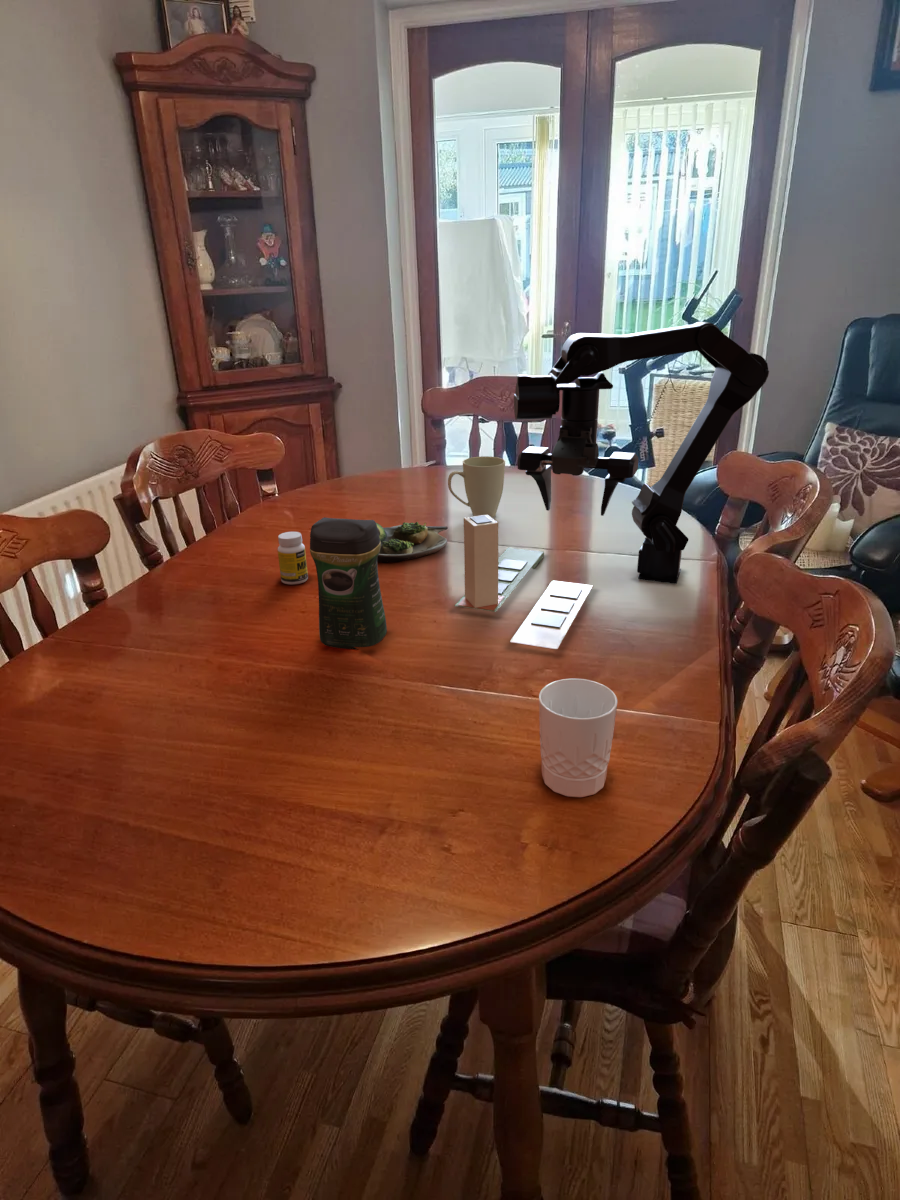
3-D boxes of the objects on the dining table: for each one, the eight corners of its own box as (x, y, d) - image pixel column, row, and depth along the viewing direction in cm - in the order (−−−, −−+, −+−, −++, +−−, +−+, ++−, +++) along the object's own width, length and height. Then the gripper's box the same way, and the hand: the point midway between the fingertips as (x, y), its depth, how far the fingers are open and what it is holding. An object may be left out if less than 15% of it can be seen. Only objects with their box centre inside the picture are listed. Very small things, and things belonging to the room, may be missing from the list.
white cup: (530, 758, 84) (532, 680, 80) (600, 753, 84) (605, 675, 80) (544, 804, 77) (547, 721, 73) (620, 799, 77) (627, 716, 73)
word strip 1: (508, 552, 143) (508, 546, 143) (543, 556, 141) (544, 550, 140) (454, 611, 120) (454, 604, 119) (496, 617, 117) (496, 610, 117)
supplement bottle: (302, 586, 131) (297, 540, 127) (276, 584, 131) (271, 539, 128) (312, 575, 135) (307, 531, 131) (287, 574, 136) (282, 530, 132)
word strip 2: (552, 585, 128) (552, 579, 128) (593, 590, 126) (593, 584, 125) (509, 648, 108) (509, 640, 107) (557, 655, 105) (557, 648, 105)
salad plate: (430, 524, 159) (430, 503, 158) (470, 550, 145) (469, 527, 143) (343, 540, 152) (342, 518, 150) (375, 568, 137) (374, 544, 135)
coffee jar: (393, 630, 114) (386, 513, 106) (375, 655, 107) (366, 531, 99) (333, 625, 116) (322, 509, 109) (312, 648, 109) (299, 526, 102)
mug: (475, 506, 170) (474, 454, 165) (512, 513, 165) (513, 459, 160) (446, 519, 162) (445, 464, 157) (485, 527, 157) (484, 470, 152)
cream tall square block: (487, 593, 123) (487, 513, 117) (498, 604, 119) (498, 521, 114) (464, 597, 122) (463, 516, 116) (474, 608, 118) (473, 525, 112)
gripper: (507, 424, 116) (506, 521, 122) (630, 431, 109) (622, 533, 116) (528, 411, 125) (526, 502, 132) (642, 417, 119) (634, 512, 125)
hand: (575, 512), depth 126 cm, fingers open, 9 cm apart
